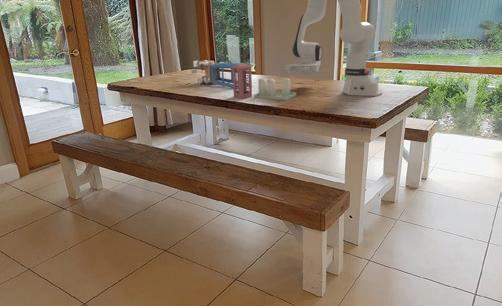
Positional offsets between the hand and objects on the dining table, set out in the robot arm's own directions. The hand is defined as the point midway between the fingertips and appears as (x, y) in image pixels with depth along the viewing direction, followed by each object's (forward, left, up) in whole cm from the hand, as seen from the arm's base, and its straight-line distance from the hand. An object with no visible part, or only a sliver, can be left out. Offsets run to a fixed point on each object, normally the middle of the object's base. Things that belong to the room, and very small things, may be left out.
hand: (296, 69), depth 228 cm
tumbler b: (+13, +19, -13) cm, 26 cm away
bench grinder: (+62, -9, -15) cm, 64 cm away
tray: (+6, +16, -14) cm, 22 cm away
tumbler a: (+7, +19, -13) cm, 24 cm away
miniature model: (+23, +24, -14) cm, 36 cm away
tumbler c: (0, +14, -13) cm, 19 cm away
